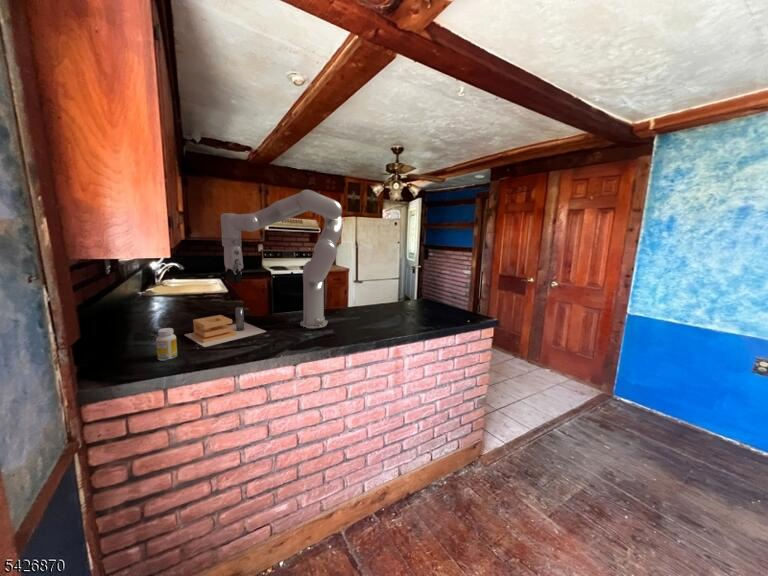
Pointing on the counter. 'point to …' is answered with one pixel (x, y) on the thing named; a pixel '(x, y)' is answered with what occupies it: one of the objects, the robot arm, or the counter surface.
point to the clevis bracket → (212, 328)
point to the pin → (239, 319)
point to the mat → (247, 331)
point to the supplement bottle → (166, 344)
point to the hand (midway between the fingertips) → (233, 281)
